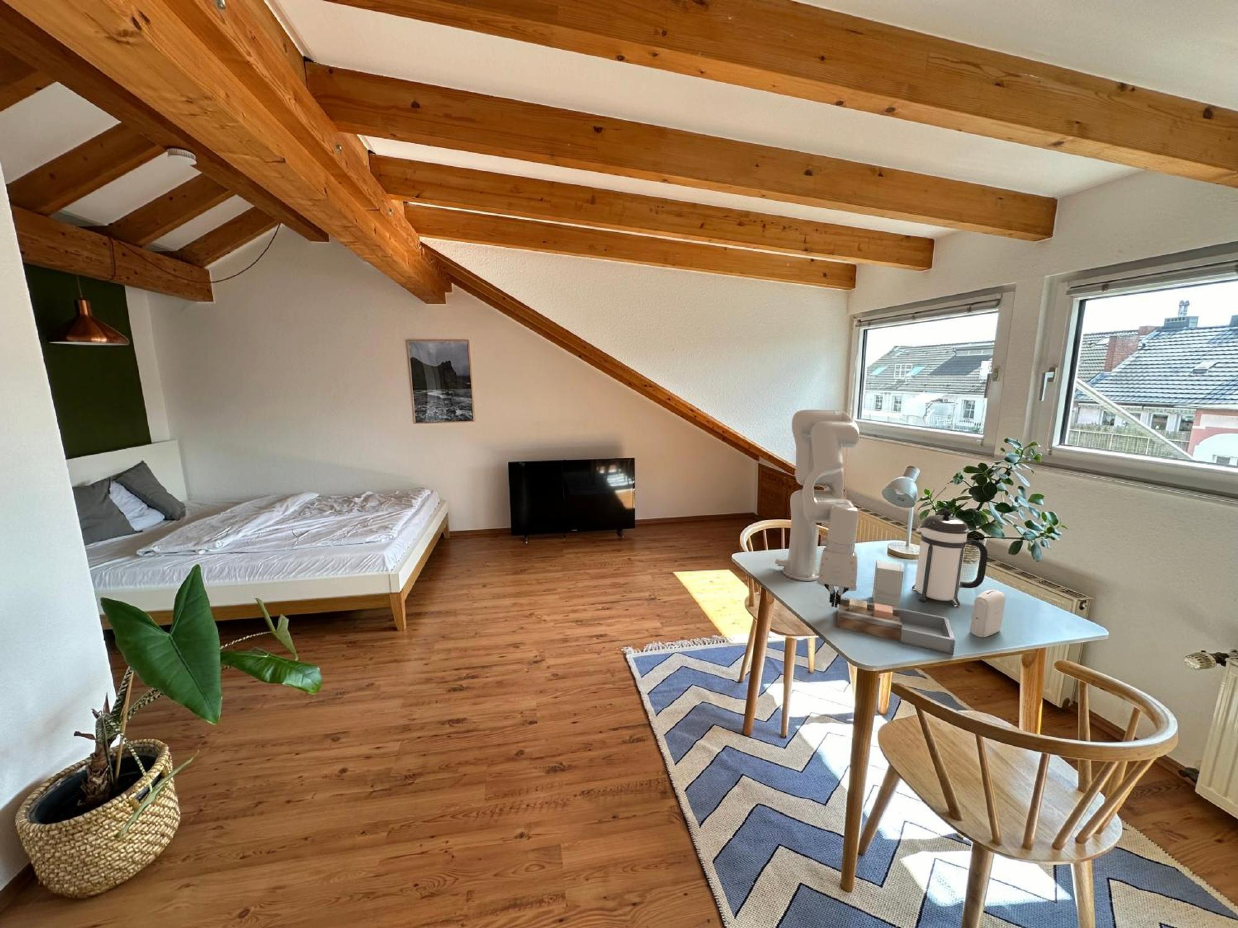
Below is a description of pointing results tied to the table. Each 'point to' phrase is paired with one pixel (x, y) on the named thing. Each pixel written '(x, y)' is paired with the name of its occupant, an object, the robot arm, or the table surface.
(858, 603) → the beige block
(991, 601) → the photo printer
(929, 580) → the coffee press
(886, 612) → the salmon orange block
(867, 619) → the slot block
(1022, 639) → the table surface
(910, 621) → the tray
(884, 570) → the supplement box
